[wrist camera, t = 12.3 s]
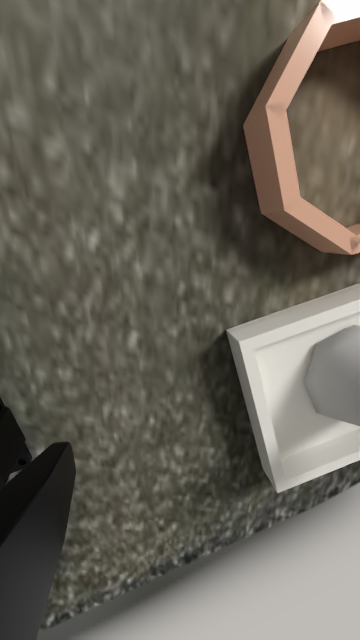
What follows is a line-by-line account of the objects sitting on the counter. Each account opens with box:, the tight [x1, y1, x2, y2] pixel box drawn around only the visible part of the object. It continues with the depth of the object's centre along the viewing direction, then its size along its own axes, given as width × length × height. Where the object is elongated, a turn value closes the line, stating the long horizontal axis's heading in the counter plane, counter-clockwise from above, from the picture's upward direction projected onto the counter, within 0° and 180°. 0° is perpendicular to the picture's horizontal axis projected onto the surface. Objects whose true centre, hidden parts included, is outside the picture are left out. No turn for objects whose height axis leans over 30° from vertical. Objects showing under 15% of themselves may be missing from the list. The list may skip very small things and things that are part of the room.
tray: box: [226, 283, 360, 493], centre depth 23 cm, size 16×12×2 cm
